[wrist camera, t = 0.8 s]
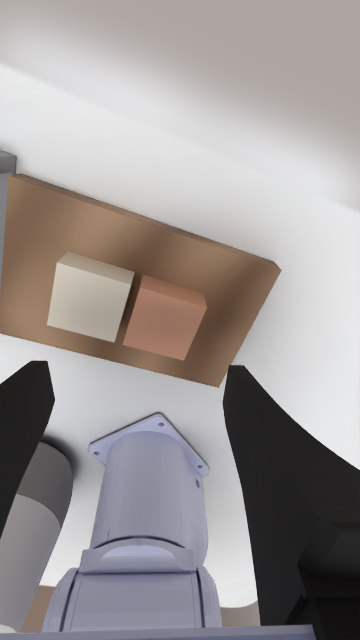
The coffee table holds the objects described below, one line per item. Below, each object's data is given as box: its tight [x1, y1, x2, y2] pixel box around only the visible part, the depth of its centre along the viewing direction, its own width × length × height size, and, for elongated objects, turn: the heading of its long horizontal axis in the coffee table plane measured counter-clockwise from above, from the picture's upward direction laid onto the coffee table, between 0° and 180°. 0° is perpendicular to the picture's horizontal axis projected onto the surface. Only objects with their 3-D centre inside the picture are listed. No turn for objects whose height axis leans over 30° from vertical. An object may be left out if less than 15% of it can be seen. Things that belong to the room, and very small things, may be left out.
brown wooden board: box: [0, 174, 281, 388], centre depth 20 cm, size 16×10×2 cm, turn 71°
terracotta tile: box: [123, 275, 207, 361], centre depth 19 cm, size 4×4×2 cm
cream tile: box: [47, 251, 135, 342], centre depth 18 cm, size 4×4×2 cm
